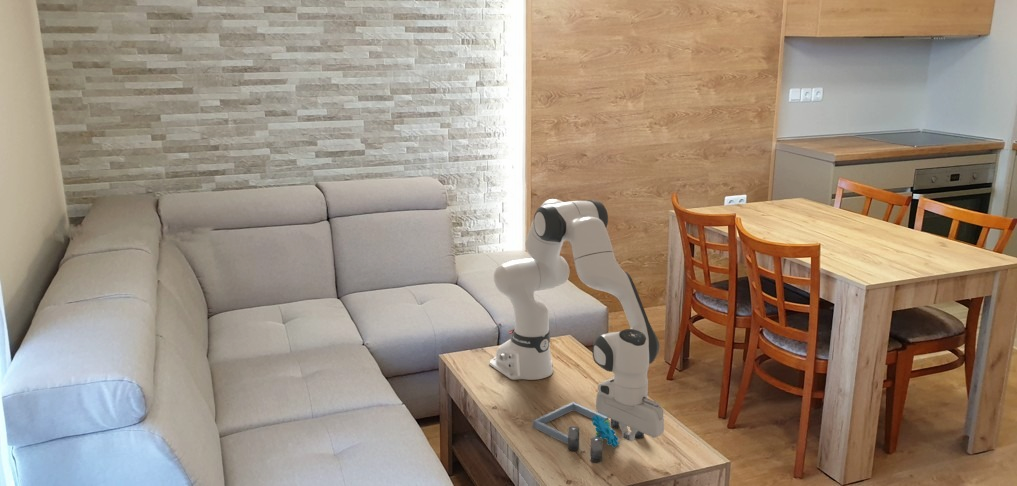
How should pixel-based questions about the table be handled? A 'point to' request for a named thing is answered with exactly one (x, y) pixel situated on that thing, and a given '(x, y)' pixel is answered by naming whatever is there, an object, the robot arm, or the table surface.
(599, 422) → the gear
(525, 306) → the robot arm
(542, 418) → the u-shaped bent rod
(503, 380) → the table surface
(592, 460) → the spacer posts
